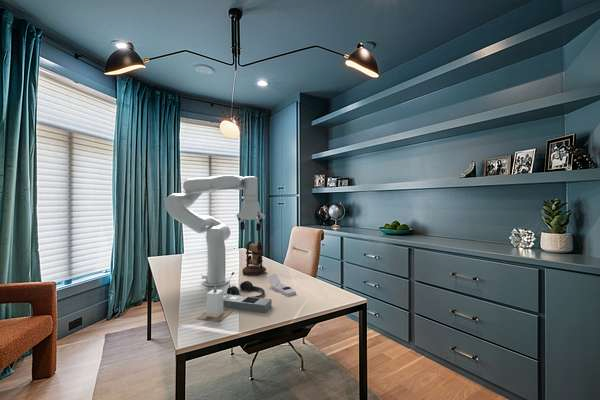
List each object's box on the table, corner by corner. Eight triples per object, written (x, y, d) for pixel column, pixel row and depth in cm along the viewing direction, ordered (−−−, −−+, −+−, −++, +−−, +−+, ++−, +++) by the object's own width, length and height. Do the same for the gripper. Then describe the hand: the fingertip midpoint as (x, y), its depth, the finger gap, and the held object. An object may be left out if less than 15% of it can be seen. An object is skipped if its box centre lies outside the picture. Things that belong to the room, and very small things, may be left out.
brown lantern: (269, 271, 175) (269, 240, 175) (259, 277, 161) (259, 243, 161) (249, 269, 179) (249, 239, 179) (237, 275, 165) (238, 242, 165)
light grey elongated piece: (275, 273, 149) (299, 285, 128) (275, 283, 149) (299, 297, 128) (265, 274, 146) (288, 287, 125) (265, 285, 146) (288, 300, 125)
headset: (240, 269, 140) (271, 279, 130) (238, 287, 141) (269, 298, 131) (220, 275, 128) (253, 287, 119) (219, 295, 129) (251, 308, 119)
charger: (206, 316, 104) (206, 288, 104) (213, 311, 109) (213, 285, 109) (216, 317, 103) (217, 290, 103) (223, 312, 108) (223, 286, 108)
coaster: (196, 321, 102) (196, 318, 102) (211, 311, 112) (211, 308, 112) (219, 324, 100) (219, 321, 100) (232, 313, 109) (232, 310, 109)
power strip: (208, 307, 115) (208, 297, 115) (217, 301, 122) (218, 292, 122) (265, 315, 108) (265, 304, 108) (271, 308, 115) (271, 298, 115)
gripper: (233, 198, 147) (233, 230, 147) (261, 199, 141) (261, 231, 141) (240, 198, 154) (240, 228, 154) (267, 199, 148) (267, 230, 148)
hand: (250, 230), depth 148 cm, fingers open, 9 cm apart
